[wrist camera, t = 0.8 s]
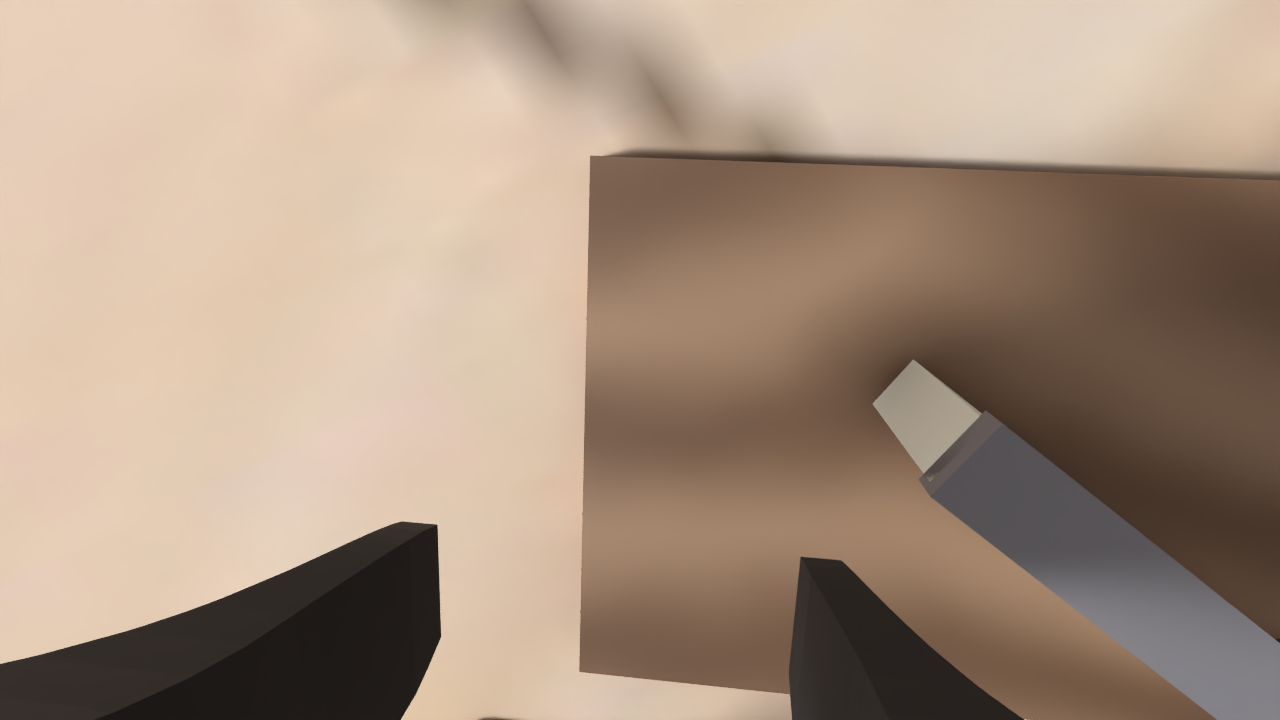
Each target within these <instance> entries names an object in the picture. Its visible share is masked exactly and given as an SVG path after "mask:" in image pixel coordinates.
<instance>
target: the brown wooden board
mask: <svg viewBox="0 0 1280 720" xmlns="http://www.w3.org/2000/svg"><path fill="white" fill-rule="evenodd" d="M913 359H914V360H915V361H916V362H917V363H919V364H920V365H921V366H922V367H924V368H925V369H926V370H927V371H929V372H930V373H931V374H932V375H934V376H935V377H936V378H938V379H939V380H940V381H941V382H943V383H944V384H945V385H946V386H948V387H949V388H950V389H951V390H953V391H954V392H955V393H957V394H958V395H959V396H960V397H962V398H963V399H964V400H965V401H967V402H968V403H969V404H970V405H972V406H973V407H974V408H975V409H977V410H978V411H979V412H981V413H983V412H984V411H985V410H986V411H987V412H989V413H990V414H991V415H993V416H994V417H995V418H996V419H998V420H999V421H1000V422H1001V423H1003V424H1004V425H1005V426H1006V427H1008V428H1009V429H1010V430H1011V431H1013V432H1014V433H1015V434H1017V435H1018V436H1019V437H1020V438H1022V439H1023V440H1024V441H1025V442H1027V443H1028V444H1029V445H1030V446H1032V447H1033V448H1034V449H1035V450H1037V451H1038V452H1039V453H1041V454H1042V455H1043V456H1044V457H1046V458H1047V459H1048V460H1049V461H1051V462H1052V463H1053V464H1054V465H1056V466H1057V467H1058V468H1059V469H1061V470H1062V471H1063V472H1065V473H1066V474H1067V475H1068V476H1070V477H1071V478H1072V479H1073V480H1075V481H1076V482H1077V483H1078V484H1080V485H1081V486H1082V487H1083V488H1085V489H1086V490H1087V491H1089V492H1090V493H1091V494H1092V495H1094V496H1095V497H1096V498H1097V499H1099V500H1100V501H1101V502H1102V503H1104V504H1105V505H1106V506H1107V507H1109V508H1110V509H1111V510H1113V511H1114V512H1115V513H1116V514H1118V515H1119V516H1120V517H1121V518H1123V519H1124V520H1125V521H1126V522H1128V523H1129V524H1130V525H1131V526H1133V527H1134V528H1135V529H1137V530H1138V531H1139V532H1140V533H1142V534H1143V535H1144V536H1145V537H1147V538H1148V539H1149V540H1150V541H1152V542H1153V543H1154V544H1155V545H1157V546H1158V547H1159V548H1161V549H1162V550H1163V551H1164V552H1166V553H1167V554H1168V555H1169V556H1171V557H1172V558H1173V559H1174V560H1176V561H1177V562H1178V563H1179V564H1181V565H1182V566H1183V567H1185V568H1186V569H1187V570H1188V571H1190V572H1191V573H1192V574H1193V575H1195V576H1196V577H1197V578H1198V579H1200V580H1201V581H1202V582H1203V583H1205V584H1206V585H1207V586H1209V587H1210V588H1211V589H1212V590H1214V591H1215V592H1216V593H1217V594H1219V595H1220V596H1221V597H1222V598H1224V599H1225V600H1226V601H1227V602H1229V603H1230V604H1231V605H1233V606H1234V607H1235V608H1236V609H1238V610H1239V611H1240V612H1241V613H1243V614H1244V615H1245V616H1246V617H1248V618H1249V619H1250V620H1251V621H1253V622H1254V623H1255V624H1257V625H1258V626H1259V627H1260V628H1262V629H1263V630H1264V631H1265V632H1267V633H1268V634H1269V635H1270V636H1272V637H1273V638H1274V639H1275V640H1277V641H1278V642H1279V643H1280V180H1260V179H1231V178H1203V177H1175V176H1147V175H1119V174H1091V173H1063V172H1034V171H1006V170H978V169H950V168H922V167H894V166H865V165H837V164H809V163H781V162H753V161H725V160H697V159H668V158H640V157H612V156H590V197H589V244H588V292H587V339H586V387H585V434H584V481H583V529H582V576H581V624H580V671H579V672H586V673H596V674H605V675H615V676H624V677H633V678H643V679H652V680H662V681H671V682H680V683H690V684H699V685H709V686H718V687H728V688H737V689H746V690H756V691H765V692H775V693H784V694H790V684H789V664H790V654H791V645H792V635H793V625H794V616H795V606H796V596H797V586H798V577H799V567H800V557H810V558H822V559H833V560H842V561H843V562H844V563H845V564H846V565H847V566H848V567H849V568H850V569H851V570H852V571H853V572H854V573H855V574H856V575H857V576H858V577H859V578H860V579H861V580H862V581H863V582H864V583H865V584H866V585H867V586H868V587H869V588H870V589H871V590H872V591H873V592H874V593H875V594H876V595H877V596H878V597H879V598H880V599H881V600H882V601H883V602H884V603H885V604H886V605H887V606H888V607H889V608H890V609H891V610H892V611H893V612H894V613H895V614H896V615H897V616H898V617H899V618H900V619H901V620H902V621H903V622H904V623H905V624H906V625H908V626H909V627H910V628H911V629H912V630H913V631H914V632H915V633H916V634H917V635H918V636H919V637H921V638H922V639H923V640H924V641H925V642H926V643H927V644H928V645H929V646H931V647H932V648H933V649H934V650H935V651H936V652H937V653H939V654H940V655H941V656H942V657H943V658H945V659H946V660H947V661H948V662H949V663H951V664H952V665H953V666H954V667H955V668H956V669H958V670H959V671H960V672H961V673H962V674H964V675H965V676H966V677H967V678H968V679H970V680H971V681H972V682H974V683H975V684H976V685H977V686H979V687H980V688H981V689H983V690H984V691H985V692H986V693H988V694H989V695H990V696H992V697H993V698H995V699H996V700H997V701H999V702H1000V703H1002V704H1003V705H1004V706H1006V707H1007V708H1009V709H1010V710H1011V711H1013V712H1014V713H1016V714H1017V715H1018V716H1020V717H1021V718H1023V719H1029V720H1217V719H1216V718H1214V717H1213V716H1212V715H1210V714H1209V713H1208V712H1207V711H1205V710H1204V709H1203V708H1201V707H1200V706H1199V705H1198V704H1196V703H1195V702H1194V701H1192V700H1191V699H1190V698H1189V697H1187V696H1186V695H1185V694H1183V693H1182V692H1181V691H1180V690H1178V689H1177V688H1176V687H1174V686H1173V685H1172V684H1171V683H1169V682H1168V681H1167V680H1165V679H1164V678H1163V677H1162V676H1160V675H1159V674H1158V673H1156V672H1155V671H1154V670H1153V669H1151V668H1150V667H1149V666H1147V665H1146V664H1145V663H1144V662H1142V661H1141V660H1140V659H1138V658H1137V657H1136V656H1135V655H1133V654H1132V653H1131V652H1129V651H1128V650H1127V649H1126V648H1124V647H1123V646H1122V645H1120V644H1119V643H1118V642H1116V641H1115V640H1114V639H1113V638H1111V637H1110V636H1109V635H1107V634H1106V633H1105V632H1104V631H1102V630H1101V629H1100V628H1098V627H1097V626H1096V625H1095V624H1093V623H1092V622H1091V621H1089V620H1088V619H1087V618H1086V617H1084V616H1083V615H1082V614H1080V613H1079V612H1078V611H1077V610H1075V609H1074V608H1073V607H1071V606H1070V605H1069V604H1068V603H1066V602H1065V601H1064V600H1062V599H1061V598H1060V597H1059V596H1057V595H1056V594H1055V593H1053V592H1052V591H1051V590H1050V589H1048V588H1047V587H1046V586H1044V585H1043V584H1042V583H1041V582H1039V581H1038V580H1037V579H1035V578H1034V577H1033V576H1032V575H1030V574H1029V573H1028V572H1026V571H1025V570H1024V569H1023V568H1021V567H1020V566H1019V565H1017V564H1016V563H1015V562H1014V561H1012V560H1011V559H1010V558H1008V557H1007V556H1006V555H1005V554H1003V553H1002V552H1001V551H999V550H998V549H997V548H996V547H994V546H993V545H992V544H990V543H989V542H988V541H987V540H985V539H984V538H983V537H981V536H980V535H979V534H978V533H976V532H975V531H974V530H972V529H971V528H970V527H969V526H967V525H966V524H965V523H963V522H962V521H961V520H960V519H958V518H957V517H956V516H954V515H953V514H952V513H951V512H949V511H948V510H947V509H945V508H944V507H943V506H942V505H940V504H939V503H938V502H936V501H935V500H934V499H933V498H931V497H930V496H929V494H928V493H927V491H926V490H925V488H924V487H923V486H922V484H921V483H920V481H919V480H918V479H919V478H920V477H921V476H922V475H923V472H922V471H921V470H920V468H919V467H918V465H917V464H916V463H915V461H914V460H913V459H912V457H911V456H910V455H909V453H908V452H907V450H906V449H905V448H904V446H903V445H902V444H901V442H900V441H899V440H898V438H897V437H896V435H895V434H894V433H893V431H892V430H891V429H890V427H889V426H888V424H887V423H886V422H885V420H884V419H883V418H882V416H881V415H880V414H879V412H878V411H877V409H876V408H875V407H874V405H873V403H874V402H875V401H876V399H877V398H878V397H879V396H880V395H881V394H882V393H883V392H884V391H885V390H886V389H887V387H888V386H889V385H890V384H891V383H892V382H893V381H894V380H895V379H896V378H897V377H898V376H899V374H900V373H901V372H902V371H903V370H904V369H905V368H906V367H907V366H908V365H909V364H910V362H911V361H912V360H913Z"/></svg>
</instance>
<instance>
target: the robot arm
mask: <svg viewBox="0 0 1280 720" xmlns="http://www.w3.org/2000/svg"><path fill="white" fill-rule="evenodd" d="M440 638H441V622H440V591H439V561H438V530H437V525H434V524H423V523H411V522H398V523H395V524H392V525H389V526H387V527H384V528H381V529H379V530H377V531H374V532H372V533H370V534H367V535H365V536H363V537H361V538H358V539H356V540H354V541H352V542H350V543H347V544H345V545H343V546H341V547H339V548H337V549H334V550H332V551H330V552H328V553H326V554H324V555H321V556H319V557H317V558H315V559H313V560H311V561H308V562H306V563H304V564H302V565H300V566H297V567H295V568H293V569H291V570H289V571H286V572H284V573H281V574H279V575H277V576H274V577H272V578H270V579H267V580H265V581H262V582H260V583H258V584H255V585H253V586H251V587H248V588H246V589H243V590H241V591H239V592H236V593H234V594H232V595H229V596H227V597H224V598H222V599H219V600H217V601H214V602H211V603H209V604H206V605H203V606H201V607H198V608H195V609H192V610H190V611H187V612H184V613H181V614H178V615H175V616H172V617H169V618H166V619H163V620H160V621H157V622H154V623H151V624H148V625H145V626H142V627H139V628H136V629H132V630H129V631H126V632H122V633H119V634H115V635H111V636H108V637H104V638H100V639H97V640H93V641H89V642H86V643H82V644H79V645H75V646H71V647H68V648H64V649H60V650H57V651H53V652H49V653H46V654H42V655H38V656H34V657H29V658H25V659H21V660H16V661H12V662H7V663H3V664H0V720H401V718H402V716H403V715H404V713H405V711H406V710H407V708H408V706H409V705H410V703H411V701H412V700H413V698H414V696H415V694H416V693H417V690H418V688H419V686H420V684H421V682H422V679H423V677H424V675H425V673H426V671H427V669H428V666H429V664H430V662H431V659H432V657H433V654H434V652H435V650H436V647H437V645H438V643H439V640H440ZM789 684H790V697H791V709H792V720H1024V719H1023V718H1021V717H1020V716H1018V715H1017V714H1016V713H1014V712H1013V711H1011V710H1010V709H1009V708H1007V707H1006V706H1004V705H1003V704H1002V703H1000V702H999V701H997V700H996V699H995V698H993V697H992V696H990V695H989V694H988V693H986V692H985V691H984V690H983V689H981V688H980V687H979V686H977V685H976V684H975V683H974V682H972V681H971V680H970V679H968V678H967V677H966V676H965V675H964V674H962V673H961V672H960V671H959V670H958V669H956V668H955V667H954V666H953V665H952V664H951V663H949V662H948V661H947V660H946V659H945V658H943V657H942V656H941V655H940V654H939V653H937V652H936V651H935V650H934V649H933V648H932V647H931V646H929V645H928V644H927V643H926V642H925V641H924V640H923V639H922V638H921V637H919V636H918V635H917V634H916V633H915V632H914V631H913V630H912V629H911V628H910V627H909V626H908V625H906V624H905V623H904V622H903V621H902V620H901V619H900V618H899V617H898V616H897V615H896V614H895V613H894V612H893V611H892V610H891V609H890V608H889V607H888V606H887V605H886V604H885V603H884V602H883V601H882V600H881V599H880V598H879V597H878V596H877V595H876V594H875V593H874V592H873V591H872V590H871V589H870V588H869V587H868V586H867V585H866V584H865V583H864V582H863V581H862V580H861V579H860V578H859V577H858V576H857V575H856V574H855V573H854V572H853V571H852V570H851V569H850V568H849V567H848V566H847V565H846V564H845V563H844V562H843V561H842V560H833V559H822V558H810V557H800V567H799V577H798V586H797V596H796V606H795V616H794V625H793V635H792V645H791V654H790V664H789Z"/></svg>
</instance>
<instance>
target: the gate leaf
mask: <svg viewBox="0 0 1280 720" xmlns="http://www.w3.org/2000/svg"><path fill="white" fill-rule="evenodd" d="M873 405H874V407H875V408H876V409H877V411H878V412H879V414H880V415H881V416H882V418H883V419H884V420H885V422H886V423H887V424H888V426H889V427H890V429H891V430H892V431H893V433H894V434H895V435H896V437H897V438H898V440H899V441H900V442H901V444H902V445H903V446H904V448H905V449H906V450H907V452H908V453H909V455H910V456H911V457H912V459H913V460H914V461H915V463H916V464H917V465H918V467H919V468H920V470H921V471H922V472H923V475H922V476H921V477H920V478H919V479H918V480H919V481H920V483H921V484H922V486H923V487H924V488H925V490H926V491H927V493H928V494H929V496H930V497H931V498H933V499H934V500H935V501H936V502H938V503H939V504H940V505H942V506H943V507H944V508H945V509H947V510H948V511H949V512H951V513H952V514H953V515H954V516H956V517H957V518H958V519H960V520H961V521H962V522H963V523H965V524H966V525H967V526H969V527H970V528H971V529H972V530H974V531H975V532H976V533H978V534H979V535H980V536H981V537H983V538H984V539H985V540H987V541H988V542H989V543H990V544H992V545H993V546H994V547H996V548H997V549H998V550H999V551H1001V552H1002V553H1003V554H1005V555H1006V556H1007V557H1008V558H1010V559H1011V560H1012V561H1014V562H1015V563H1016V564H1017V565H1019V566H1020V567H1021V568H1023V569H1024V570H1025V571H1026V572H1028V573H1029V574H1030V575H1032V576H1033V577H1034V578H1035V579H1037V580H1038V581H1039V582H1041V583H1042V584H1043V585H1044V586H1046V587H1047V588H1048V589H1050V590H1051V591H1052V592H1053V593H1055V594H1056V595H1057V596H1059V597H1060V598H1061V599H1062V600H1064V601H1065V602H1066V603H1068V604H1069V605H1070V606H1071V607H1073V608H1074V609H1075V610H1077V611H1078V612H1079V613H1080V614H1082V615H1083V616H1084V617H1086V618H1087V619H1088V620H1089V621H1091V622H1092V623H1093V624H1095V625H1096V626H1097V627H1098V628H1100V629H1101V630H1102V631H1104V632H1105V633H1106V634H1107V635H1109V636H1110V637H1111V638H1113V639H1114V640H1115V641H1116V642H1118V643H1119V644H1120V645H1122V646H1123V647H1124V648H1126V649H1127V650H1128V651H1129V652H1131V653H1132V654H1133V655H1135V656H1136V657H1137V658H1138V659H1140V660H1141V661H1142V662H1144V663H1145V664H1146V665H1147V666H1149V667H1150V668H1151V669H1153V670H1154V671H1155V672H1156V673H1158V674H1159V675H1160V676H1162V677H1163V678H1164V679H1165V680H1167V681H1168V682H1169V683H1171V684H1172V685H1173V686H1174V687H1176V688H1177V689H1178V690H1180V691H1181V692H1182V693H1183V694H1185V695H1186V696H1187V697H1189V698H1190V699H1191V700H1192V701H1194V702H1195V703H1196V704H1198V705H1199V706H1200V707H1201V708H1203V709H1204V710H1205V711H1207V712H1208V713H1209V714H1210V715H1212V716H1213V717H1214V718H1216V719H1217V720H1280V643H1279V642H1278V641H1277V640H1275V639H1274V638H1273V637H1272V636H1270V635H1269V634H1268V633H1267V632H1265V631H1264V630H1263V629H1262V628H1260V627H1259V626H1258V625H1257V624H1255V623H1254V622H1253V621H1251V620H1250V619H1249V618H1248V617H1246V616H1245V615H1244V614H1243V613H1241V612H1240V611H1239V610H1238V609H1236V608H1235V607H1234V606H1233V605H1231V604H1230V603H1229V602H1227V601H1226V600H1225V599H1224V598H1222V597H1221V596H1220V595H1219V594H1217V593H1216V592H1215V591H1214V590H1212V589H1211V588H1210V587H1209V586H1207V585H1206V584H1205V583H1203V582H1202V581H1201V580H1200V579H1198V578H1197V577H1196V576H1195V575H1193V574H1192V573H1191V572H1190V571H1188V570H1187V569H1186V568H1185V567H1183V566H1182V565H1181V564H1179V563H1178V562H1177V561H1176V560H1174V559H1173V558H1172V557H1171V556H1169V555H1168V554H1167V553H1166V552H1164V551H1163V550H1162V549H1161V548H1159V547H1158V546H1157V545H1155V544H1154V543H1153V542H1152V541H1150V540H1149V539H1148V538H1147V537H1145V536H1144V535H1143V534H1142V533H1140V532H1139V531H1138V530H1137V529H1135V528H1134V527H1133V526H1131V525H1130V524H1129V523H1128V522H1126V521H1125V520H1124V519H1123V518H1121V517H1120V516H1119V515H1118V514H1116V513H1115V512H1114V511H1113V510H1111V509H1110V508H1109V507H1107V506H1106V505H1105V504H1104V503H1102V502H1101V501H1100V500H1099V499H1097V498H1096V497H1095V496H1094V495H1092V494H1091V493H1090V492H1089V491H1087V490H1086V489H1085V488H1083V487H1082V486H1081V485H1080V484H1078V483H1077V482H1076V481H1075V480H1073V479H1072V478H1071V477H1070V476H1068V475H1067V474H1066V473H1065V472H1063V471H1062V470H1061V469H1059V468H1058V467H1057V466H1056V465H1054V464H1053V463H1052V462H1051V461H1049V460H1048V459H1047V458H1046V457H1044V456H1043V455H1042V454H1041V453H1039V452H1038V451H1037V450H1035V449H1034V448H1033V447H1032V446H1030V445H1029V444H1028V443H1027V442H1025V441H1024V440H1023V439H1022V438H1020V437H1019V436H1018V435H1017V434H1015V433H1014V432H1013V431H1011V430H1010V429H1009V428H1008V427H1006V426H1005V425H1004V424H1003V423H1001V422H1000V421H999V420H998V419H996V418H995V417H994V416H993V415H991V414H990V413H989V412H987V411H986V410H985V411H984V412H983V413H981V412H979V411H978V410H977V409H975V408H974V407H973V406H972V405H970V404H969V403H968V402H967V401H965V400H964V399H963V398H962V397H960V396H959V395H958V394H957V393H955V392H954V391H953V390H951V389H950V388H949V387H948V386H946V385H945V384H944V383H943V382H941V381H940V380H939V379H938V378H936V377H935V376H934V375H932V374H931V373H930V372H929V371H927V370H926V369H925V368H924V367H922V366H921V365H920V364H919V363H917V362H916V361H915V360H914V359H913V360H912V361H911V362H910V364H909V365H908V366H907V367H906V368H905V369H904V370H903V371H902V372H901V373H900V374H899V376H898V377H897V378H896V379H895V380H894V381H893V382H892V383H891V384H890V385H889V386H888V387H887V389H886V390H885V391H884V392H883V393H882V394H881V395H880V396H879V397H878V398H877V399H876V401H875V402H874V403H873Z"/></svg>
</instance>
